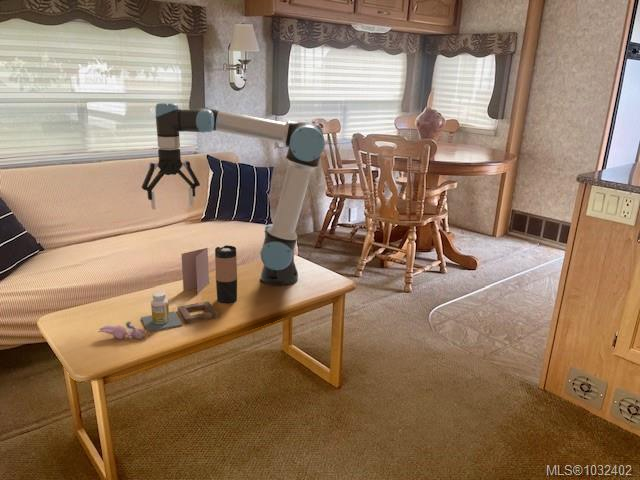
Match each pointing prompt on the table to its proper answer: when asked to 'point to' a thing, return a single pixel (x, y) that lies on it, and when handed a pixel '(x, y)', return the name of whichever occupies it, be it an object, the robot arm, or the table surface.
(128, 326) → the pink patterned figure
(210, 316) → the brown flat square frame
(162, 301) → the supplement bottle
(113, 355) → the table surface
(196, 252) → the greeting card
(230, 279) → the travel mug
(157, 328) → the slate pad
